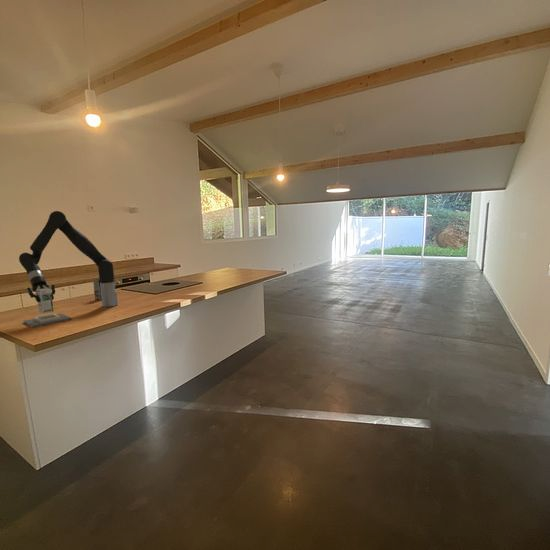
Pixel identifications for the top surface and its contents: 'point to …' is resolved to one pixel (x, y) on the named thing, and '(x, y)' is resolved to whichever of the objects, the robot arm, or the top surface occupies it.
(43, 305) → the syrup box
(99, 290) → the coffee box
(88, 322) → the top surface
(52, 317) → the base board
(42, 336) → the top surface
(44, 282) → the robot arm
